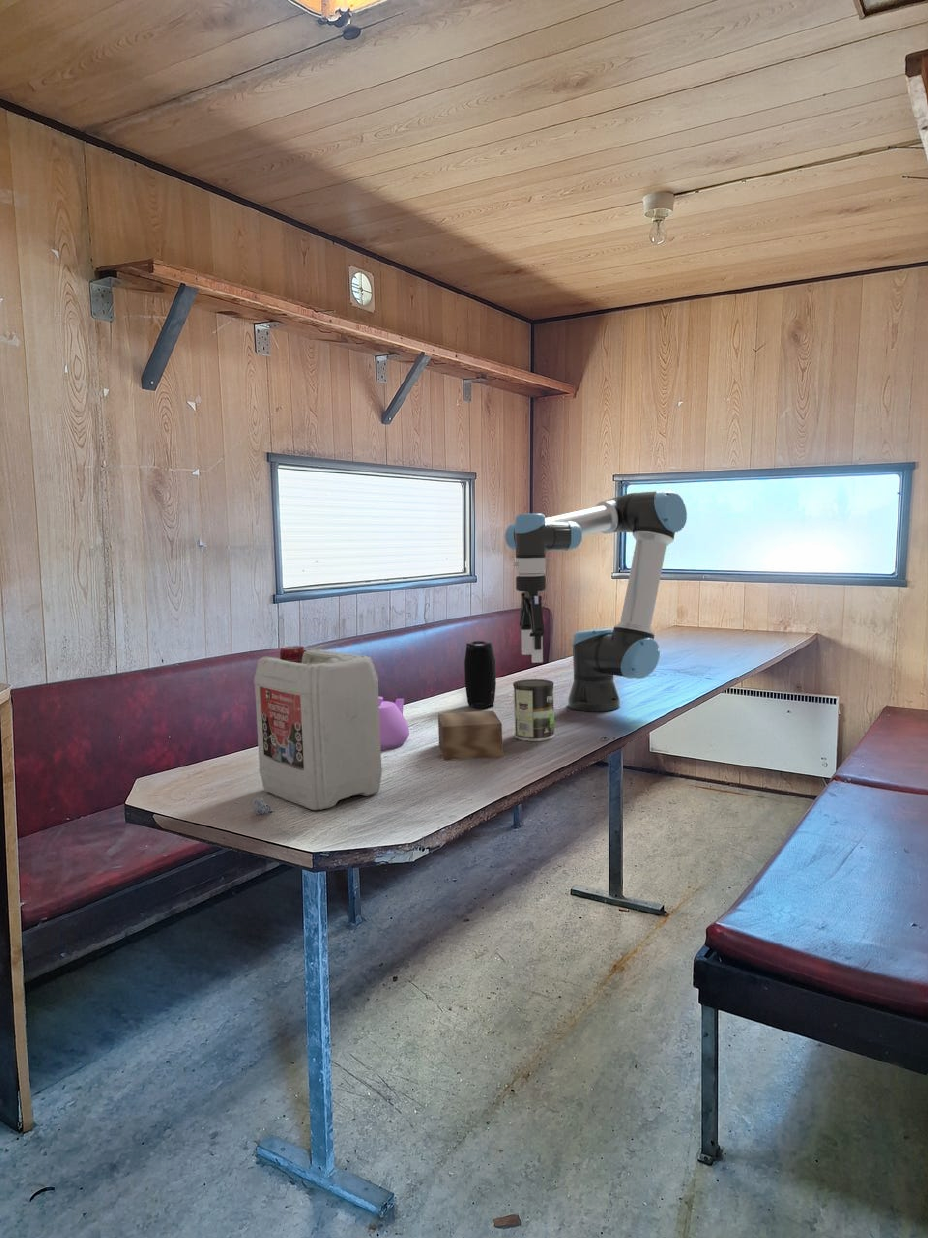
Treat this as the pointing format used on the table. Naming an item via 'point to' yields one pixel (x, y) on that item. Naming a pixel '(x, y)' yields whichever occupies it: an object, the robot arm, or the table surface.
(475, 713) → the walnut block
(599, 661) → the robot arm
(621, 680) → the table surface
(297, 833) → the table surface
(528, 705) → the coffee can
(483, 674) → the portable speaker
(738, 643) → the table surface
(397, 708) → the teapot
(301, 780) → the jerry can
